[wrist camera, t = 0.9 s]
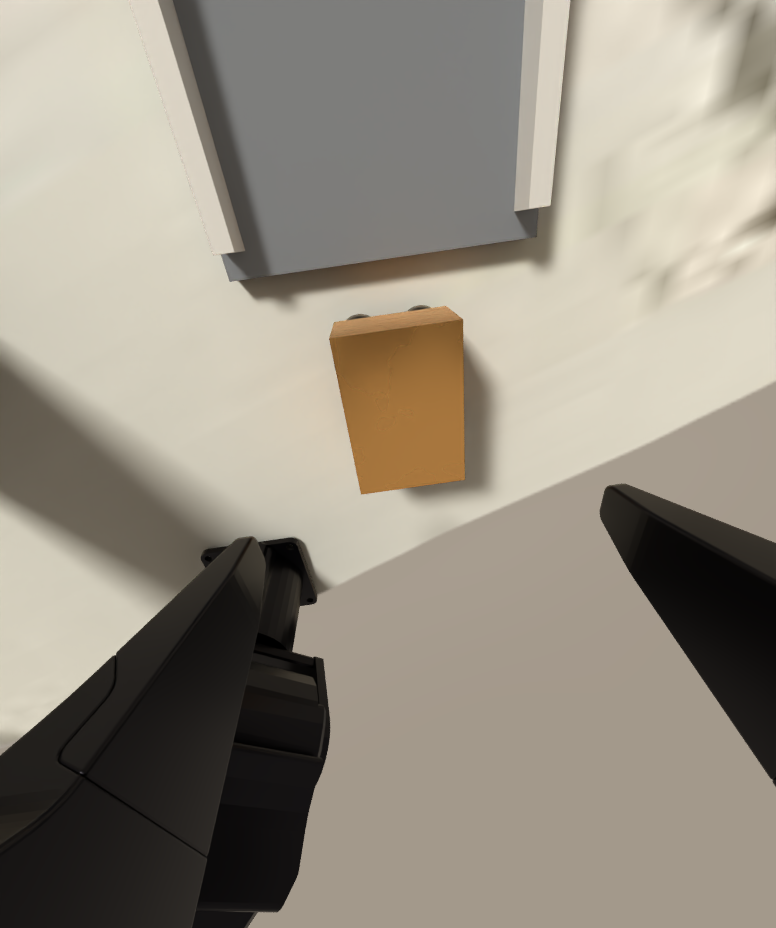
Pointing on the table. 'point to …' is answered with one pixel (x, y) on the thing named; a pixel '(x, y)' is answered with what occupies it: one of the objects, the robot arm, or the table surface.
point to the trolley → (403, 396)
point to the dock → (359, 123)
